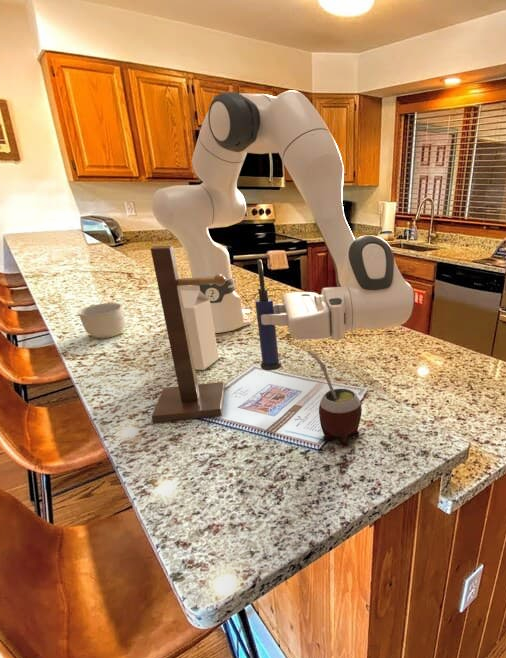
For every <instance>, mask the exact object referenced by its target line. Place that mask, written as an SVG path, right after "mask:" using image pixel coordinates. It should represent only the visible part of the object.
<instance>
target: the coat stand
mask: <svg viewBox="0 0 506 658" xmlns="http://www.w3.org/2000/svg"><path fill="white" fill-rule="evenodd" d="M150 252H151V253H150V254H151V258H152V263H153V269H154V272H155V278H156V282H157V288H158V293H159V298H160V303H161V308H162V313H163V318H164V322H165V323H164V324H165V327H166V333H167V338H168V342H169V346H170V351H171V356H172V361H173V367H174V371H175V377H176V382H177V386H176V385H175V386H167V387H163V388H162V391H161V393H160V396H159V397H158V400H157V402H156V405H155V407H154V410H153V412H152V415H151V419H152V420H151V421H152V423H153V424H159V423H169V422H178V421H187V420H195V419H196V420H197V419H203V418H205V419H206V418H213V417H221V416H222V415H223V407H224V401H225V394H226V393H225V392H226V384H225V381H218V382H209V383H198V378H197V370H195V366H194V360H193V355H192V349H191V344H190V338H189V333H188V327H187V322H186V316H185V311H184V305H183V300H182V294H181V289H180V286H184V285H203V284H216V285H218V286H222V285H224V283H225V277H224V276H223V275H220V274H218V275H216V276H215V277H203V278H192V277H187V278H180V277H179V273H178V267H177V261H176V256H175V252H174V246H173V245H154V246H152V247H151V248H150Z"/></svg>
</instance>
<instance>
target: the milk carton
mask: <svg viewBox="0 0 506 658" xmlns="http://www.w3.org/2000/svg"><path fill="white" fill-rule="evenodd" d="M180 289H181V294H182V300H183V305H184V311H185V316H186V322H187V327H188V333H189V338H190V344H191V349H192V355H193V360H194V366H195V371H205V370H207V369H208V368H209V367H210V366H212V365H213V364H214V363H216V362H217V361H218V360H219V358H220V357H219V351H218V345H217V338H216V333H215V330H214V324H213V317H212V311H211V304H210V299H209V298H208V297H206V296H205V295H204V294H203V293H202V292H201V291H200V287H199V286H193V285H184V286H180Z"/></svg>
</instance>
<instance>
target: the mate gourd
mask: <svg viewBox="0 0 506 658" xmlns="http://www.w3.org/2000/svg"><path fill="white" fill-rule="evenodd" d="M307 353H308V354H309V355H310V356H311V357H312V358H313V359H314V360H316V362H317V363H318V364H319V367H320V369H321V371H322V372H323V375H324V378H325V380H326V382H327V385H328V388H329V390H327V392H325V393H324V395H322V397H321V400H320V402H319V407H318V415H319V416H318V417H319V422H320V428H321V431H322V433H323V435H322V440H323V441H324V442H325V441H326V442H327V441H333V440H339V441H340V443H341V446H342V447H343V448H345V447H346V448H347V447H348V446H349V443H348V438H349V437H357V436H360V435H359V434H360V431H359V430H358V429H359V427H360V423H361V419H362V415H363V414H362V413H363V409H362V407H363V406H362V403H361V400H360V398H359V397H358V395H357V393H355V392H354V391H353V390H351V389H346V388H334V387H333V384H332V381H331V380H330V376H329V374H328V371H327V366H326V365H325V363H323V361H322V360H321V359H320V357H318V356H317V355H316V354H315V353H313V352H312V351H311V350H310V349H308V350H307Z"/></svg>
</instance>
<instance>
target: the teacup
mask: <svg viewBox="0 0 506 658" xmlns="http://www.w3.org/2000/svg"><path fill="white" fill-rule="evenodd" d="M77 315H78V316H79V318H80V322H81V325H82V326H83V328H84V331H85V332H86V334H87V335H89V336H92V337H94V338H97V339H108V338H112V337H115V336H118V335H120V334H121V333H122V332H123V330H124V329H125V327H126V318H125V314H124V310H123V305H122V303H117V302H105V303H98V304H95V303H93V304H90V305H89V306H87V307H84V308H81V309H80V310H79V311H78V312H77Z"/></svg>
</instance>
